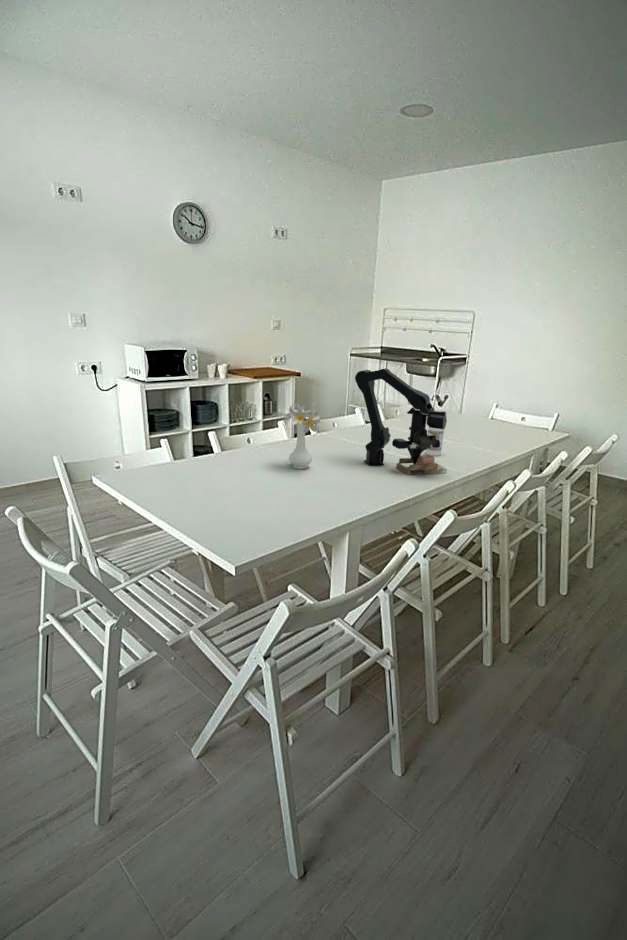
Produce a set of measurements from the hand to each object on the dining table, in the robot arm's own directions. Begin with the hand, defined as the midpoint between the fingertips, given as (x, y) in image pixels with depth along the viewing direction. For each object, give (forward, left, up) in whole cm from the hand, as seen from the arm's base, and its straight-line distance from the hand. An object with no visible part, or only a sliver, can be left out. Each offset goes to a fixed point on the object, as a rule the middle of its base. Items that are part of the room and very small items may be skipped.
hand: (414, 463), depth 196 cm
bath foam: (+22, +22, -3) cm, 31 cm away
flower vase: (-44, +11, -3) cm, 45 cm away
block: (+5, 0, -1) cm, 5 cm away
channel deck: (+4, 0, -3) cm, 5 cm away
